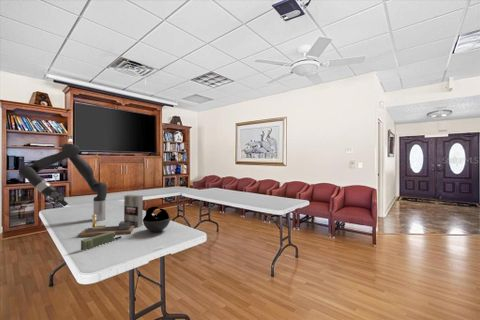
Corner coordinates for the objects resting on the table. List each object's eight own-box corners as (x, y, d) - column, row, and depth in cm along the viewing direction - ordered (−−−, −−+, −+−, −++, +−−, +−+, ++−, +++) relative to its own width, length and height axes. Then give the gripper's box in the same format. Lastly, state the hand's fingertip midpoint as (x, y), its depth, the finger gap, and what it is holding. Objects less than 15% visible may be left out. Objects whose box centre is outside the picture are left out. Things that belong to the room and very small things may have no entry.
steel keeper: (120, 227, 177) (120, 221, 177) (130, 227, 179) (130, 220, 179) (118, 230, 171) (118, 223, 171) (129, 229, 173) (129, 223, 173)
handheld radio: (80, 250, 140) (119, 238, 161) (82, 251, 138) (122, 239, 160) (80, 239, 140) (120, 228, 161) (83, 241, 138) (122, 229, 159)
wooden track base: (85, 231, 174) (85, 226, 174) (134, 227, 183) (134, 223, 183) (78, 237, 161) (78, 232, 161) (130, 233, 170) (130, 228, 170)
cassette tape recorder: (123, 226, 188) (123, 195, 188) (128, 223, 194) (128, 194, 194) (137, 227, 185) (137, 196, 185) (142, 225, 191) (142, 195, 191)
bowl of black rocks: (143, 228, 183) (143, 204, 182) (169, 226, 190) (169, 203, 189) (142, 236, 164) (142, 210, 164) (171, 233, 171) (171, 208, 171)
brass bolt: (92, 230, 171) (92, 214, 170) (105, 229, 173) (105, 213, 173) (91, 231, 168) (91, 215, 168) (104, 230, 170) (104, 214, 170)
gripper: (45, 185, 155) (66, 203, 159) (55, 183, 168) (74, 199, 172) (35, 193, 154) (57, 211, 157) (46, 190, 167) (66, 206, 170)
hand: (66, 205), depth 164 cm, fingers closed
